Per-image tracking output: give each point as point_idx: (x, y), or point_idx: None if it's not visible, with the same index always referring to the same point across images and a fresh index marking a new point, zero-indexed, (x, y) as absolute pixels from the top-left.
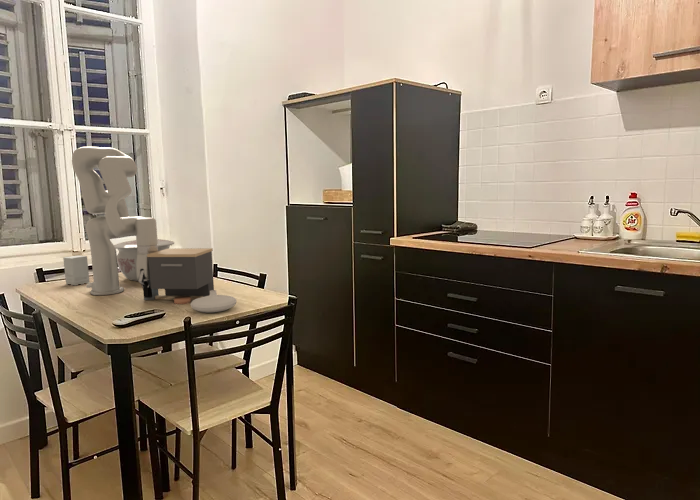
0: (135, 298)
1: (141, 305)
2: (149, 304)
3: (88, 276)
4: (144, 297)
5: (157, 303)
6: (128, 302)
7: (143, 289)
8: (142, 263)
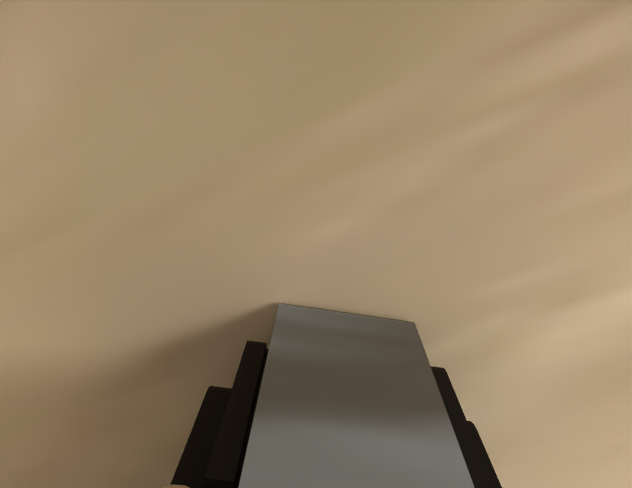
0: (413, 135)
1: (19, 361)
2: (76, 420)
3: None
4: (273, 331)
5: (127, 471)
6: (146, 135)
7: (217, 440)
8: None
